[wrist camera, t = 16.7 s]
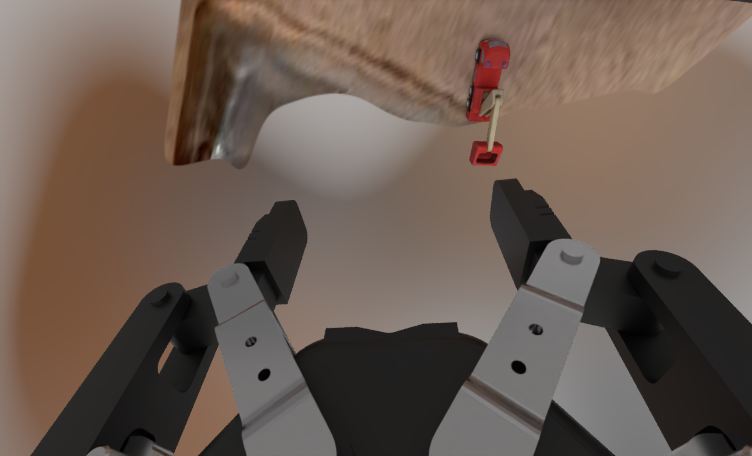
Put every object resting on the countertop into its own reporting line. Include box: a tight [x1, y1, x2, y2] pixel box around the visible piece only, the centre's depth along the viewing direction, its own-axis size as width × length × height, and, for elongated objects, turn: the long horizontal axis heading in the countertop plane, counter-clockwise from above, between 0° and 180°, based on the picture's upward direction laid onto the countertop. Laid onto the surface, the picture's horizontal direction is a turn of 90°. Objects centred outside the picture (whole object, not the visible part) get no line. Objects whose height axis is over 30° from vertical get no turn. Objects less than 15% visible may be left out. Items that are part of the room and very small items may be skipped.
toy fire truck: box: [466, 39, 510, 166], centre depth 40 cm, size 3×14×10 cm, turn 0°
